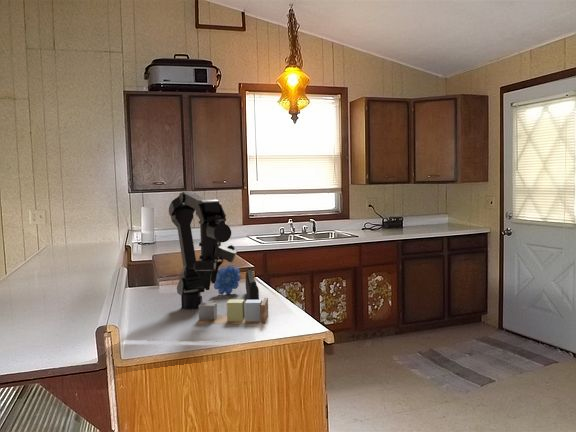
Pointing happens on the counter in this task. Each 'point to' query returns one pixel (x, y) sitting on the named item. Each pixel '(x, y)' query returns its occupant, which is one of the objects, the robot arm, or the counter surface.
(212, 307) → the grey cube-like block
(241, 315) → the pale yellow block
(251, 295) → the magazine
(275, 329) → the counter surface
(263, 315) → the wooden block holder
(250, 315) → the pale blue block
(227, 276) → the grapes
